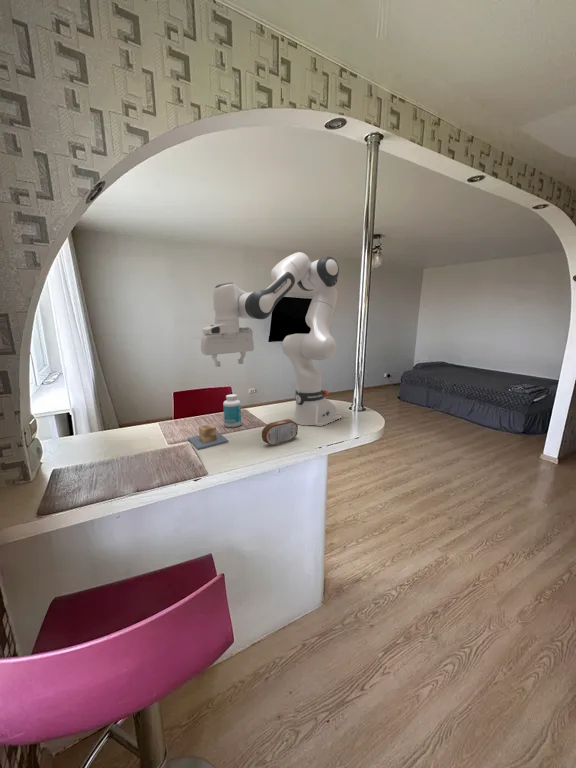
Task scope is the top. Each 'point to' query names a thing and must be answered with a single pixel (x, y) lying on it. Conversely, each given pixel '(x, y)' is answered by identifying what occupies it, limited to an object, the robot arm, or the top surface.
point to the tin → (279, 432)
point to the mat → (201, 445)
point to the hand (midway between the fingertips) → (229, 365)
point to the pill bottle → (232, 411)
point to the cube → (207, 433)
